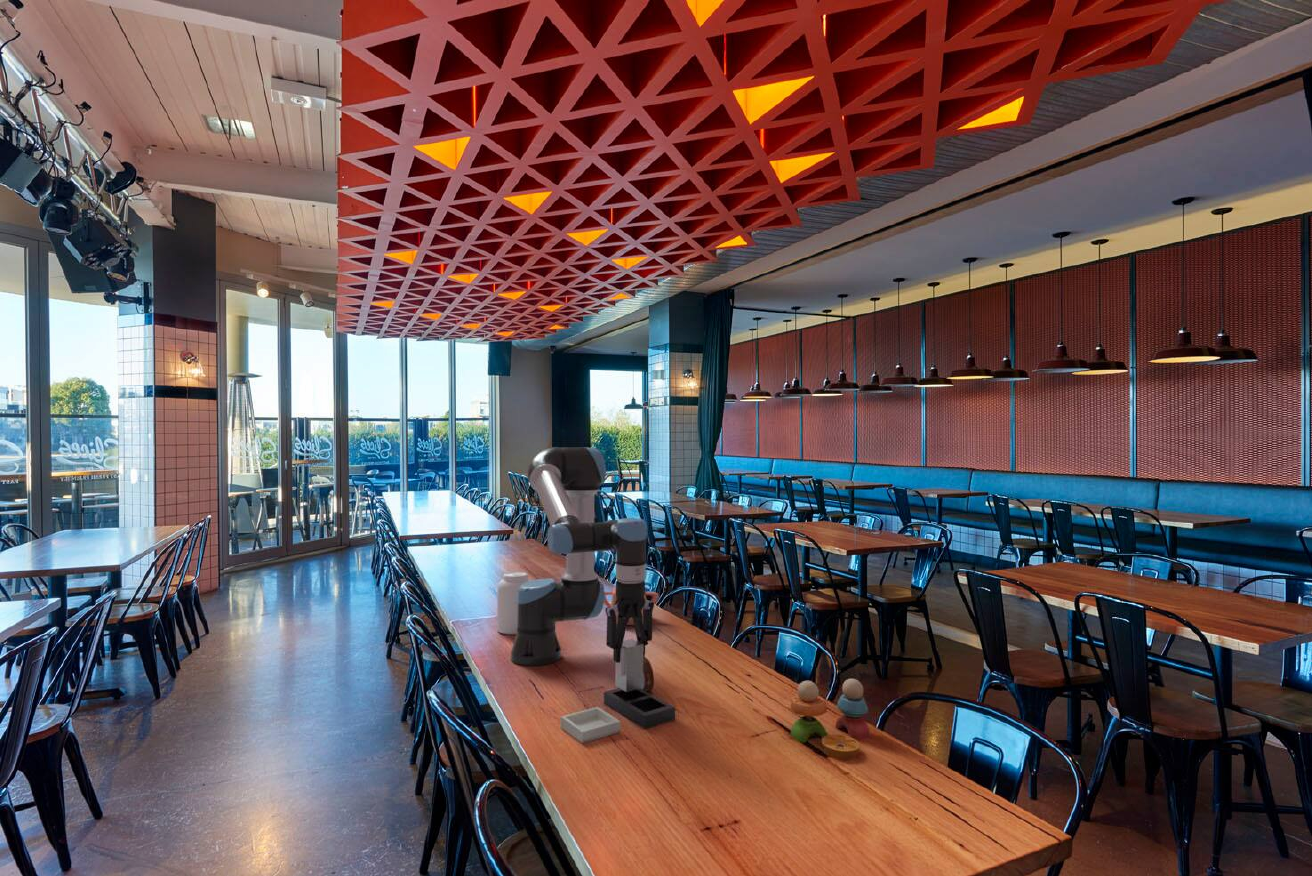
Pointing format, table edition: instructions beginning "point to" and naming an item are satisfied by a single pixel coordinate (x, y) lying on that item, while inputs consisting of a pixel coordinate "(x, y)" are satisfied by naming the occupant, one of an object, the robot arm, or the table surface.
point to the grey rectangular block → (631, 666)
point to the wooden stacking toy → (852, 720)
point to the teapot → (653, 594)
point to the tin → (647, 675)
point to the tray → (590, 724)
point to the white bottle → (509, 601)
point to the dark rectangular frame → (640, 707)
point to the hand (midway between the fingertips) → (629, 671)
